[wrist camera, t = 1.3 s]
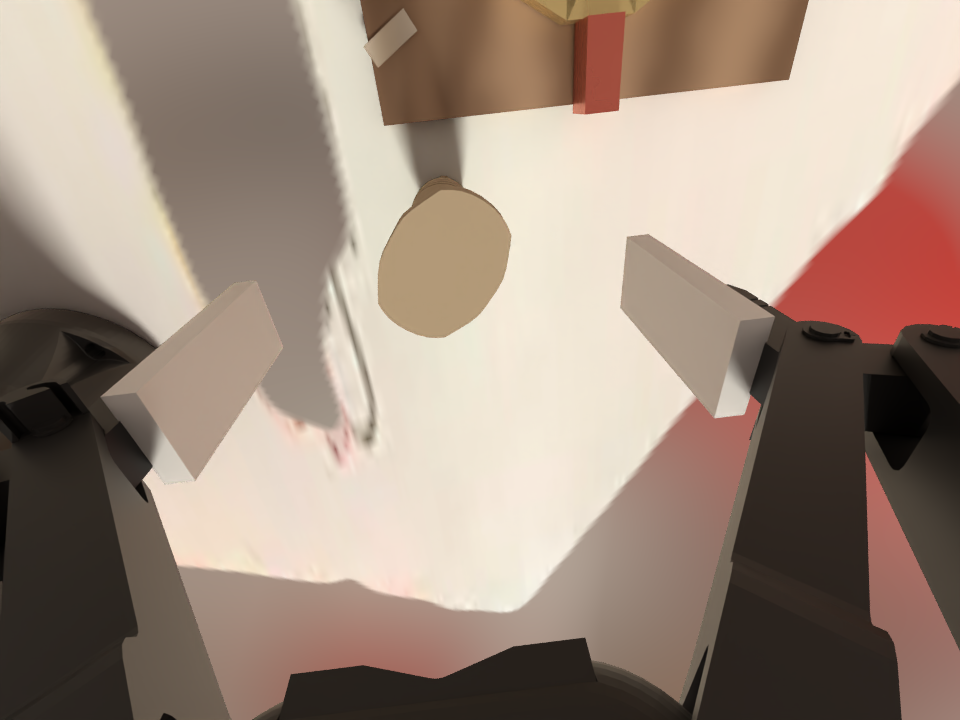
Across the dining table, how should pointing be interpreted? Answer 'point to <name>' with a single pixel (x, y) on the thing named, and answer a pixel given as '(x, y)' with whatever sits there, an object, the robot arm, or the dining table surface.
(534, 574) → the dining table surface
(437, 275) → the handle
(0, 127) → the dining table surface
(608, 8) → the ring nut
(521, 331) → the dining table surface
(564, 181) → the dining table surface
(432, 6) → the board
